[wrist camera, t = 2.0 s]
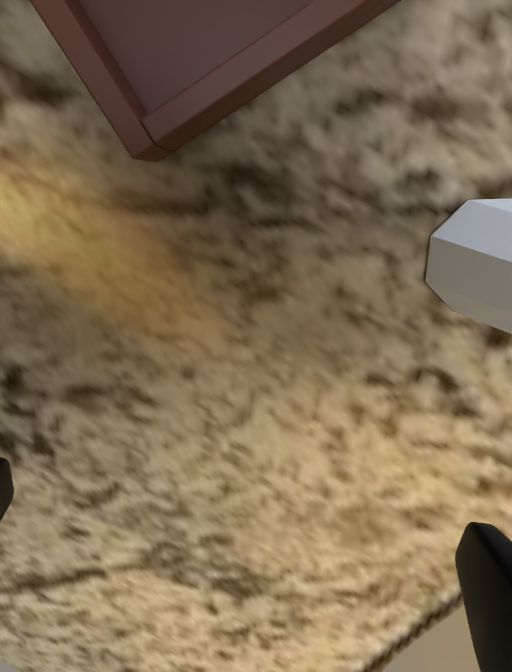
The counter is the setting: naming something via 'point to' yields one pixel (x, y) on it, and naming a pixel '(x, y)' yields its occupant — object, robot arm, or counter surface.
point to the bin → (191, 57)
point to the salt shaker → (475, 262)
